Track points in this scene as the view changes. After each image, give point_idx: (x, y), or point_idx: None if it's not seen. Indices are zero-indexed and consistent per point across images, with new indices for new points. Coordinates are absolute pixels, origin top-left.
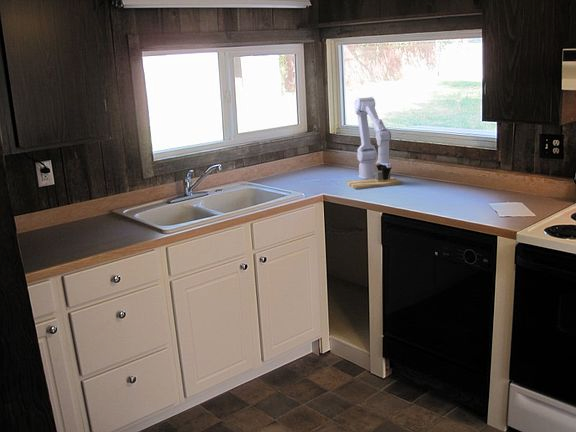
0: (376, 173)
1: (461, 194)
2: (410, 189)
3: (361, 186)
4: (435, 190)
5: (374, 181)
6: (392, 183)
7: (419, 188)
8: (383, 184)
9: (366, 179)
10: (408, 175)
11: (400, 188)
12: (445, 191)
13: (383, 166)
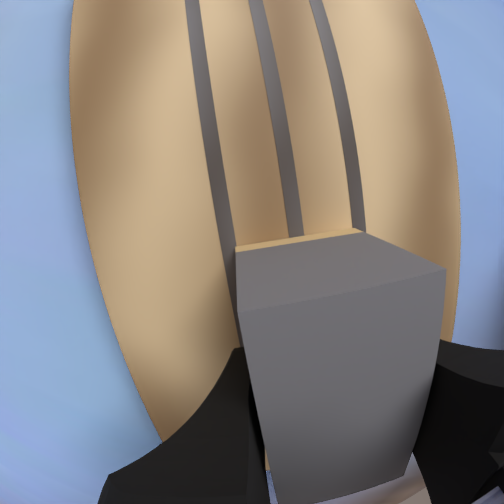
0: (338, 274)
1: (4, 497)
2: (31, 432)
3: (76, 5)
4: (36, 490)
5: (283, 198)
6: (146, 398)
7: (64, 475)
8: (108, 293)
9: (441, 129)
10: None
11: (49, 398)
12: (29, 499)
13: (455, 483)
